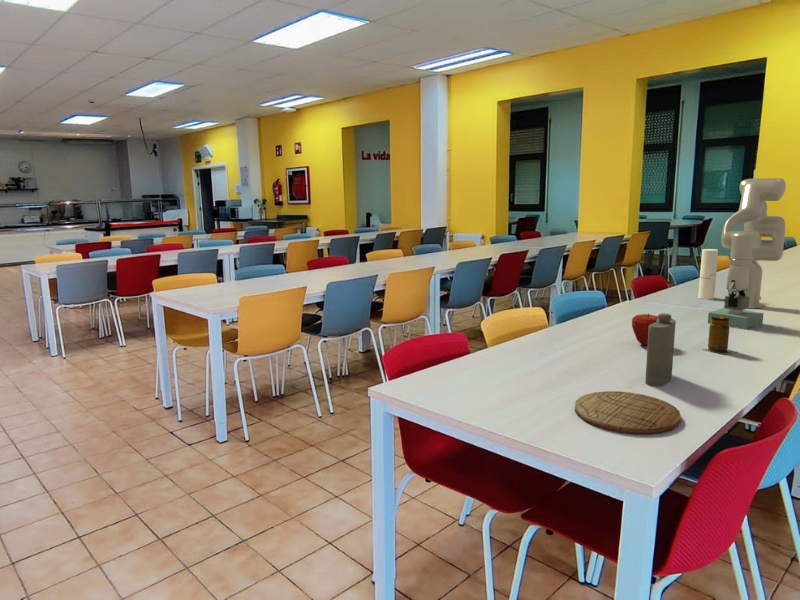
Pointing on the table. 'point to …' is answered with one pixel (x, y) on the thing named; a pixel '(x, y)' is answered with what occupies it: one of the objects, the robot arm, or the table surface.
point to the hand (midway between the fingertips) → (736, 305)
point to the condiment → (719, 335)
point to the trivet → (627, 412)
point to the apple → (642, 327)
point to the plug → (738, 304)
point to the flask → (660, 350)
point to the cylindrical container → (708, 273)
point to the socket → (739, 318)
